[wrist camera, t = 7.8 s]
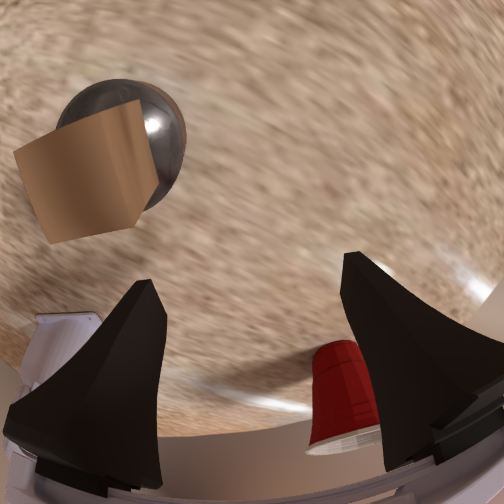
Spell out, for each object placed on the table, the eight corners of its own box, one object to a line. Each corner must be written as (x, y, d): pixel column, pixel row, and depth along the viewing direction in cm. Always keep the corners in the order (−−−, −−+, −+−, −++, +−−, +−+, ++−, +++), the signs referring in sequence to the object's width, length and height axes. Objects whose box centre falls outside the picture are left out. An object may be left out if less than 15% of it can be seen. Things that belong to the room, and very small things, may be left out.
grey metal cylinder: (94, 206, 19) (78, 226, 16) (64, 101, 14) (40, 108, 11) (200, 184, 19) (196, 203, 16) (178, 63, 14) (168, 60, 11)
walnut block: (87, 199, 15) (49, 244, 11) (64, 125, 12) (13, 151, 8) (159, 182, 15) (133, 227, 11) (139, 99, 12) (99, 112, 8)
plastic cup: (273, 372, 32) (284, 464, 22) (325, 317, 27) (358, 429, 17) (340, 380, 35) (359, 456, 26) (393, 334, 30) (428, 419, 20)
